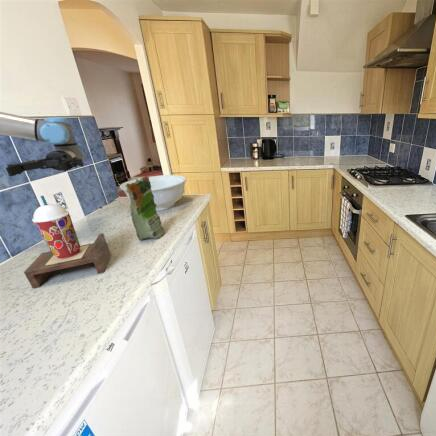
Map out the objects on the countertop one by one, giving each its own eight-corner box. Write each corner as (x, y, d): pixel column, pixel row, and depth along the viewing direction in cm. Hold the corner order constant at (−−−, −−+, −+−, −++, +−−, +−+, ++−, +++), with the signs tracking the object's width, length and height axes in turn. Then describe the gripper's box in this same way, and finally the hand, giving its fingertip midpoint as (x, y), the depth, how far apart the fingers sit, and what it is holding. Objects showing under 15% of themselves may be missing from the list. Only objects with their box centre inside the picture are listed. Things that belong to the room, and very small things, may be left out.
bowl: (199, 196, 152) (195, 173, 146) (175, 217, 122) (169, 189, 116) (149, 197, 153) (142, 174, 147) (113, 218, 123) (103, 190, 117)
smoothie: (90, 250, 81) (66, 193, 73) (60, 263, 74) (30, 202, 66) (76, 245, 84) (52, 190, 76) (46, 258, 77) (16, 198, 69)
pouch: (161, 227, 111) (147, 173, 101) (170, 236, 103) (155, 178, 93) (134, 236, 104) (115, 179, 94) (141, 245, 96) (122, 184, 86)
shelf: (32, 288, 73) (18, 263, 70) (49, 267, 83) (37, 245, 80) (103, 272, 80) (94, 248, 76) (111, 254, 90) (103, 233, 86)
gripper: (102, 165, 103) (88, 176, 85) (25, 172, 93) (-10, 186, 76) (96, 147, 100) (79, 154, 82) (15, 153, 90) (-23, 161, 73)
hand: (37, 169), depth 79 cm, fingers open, 13 cm apart
